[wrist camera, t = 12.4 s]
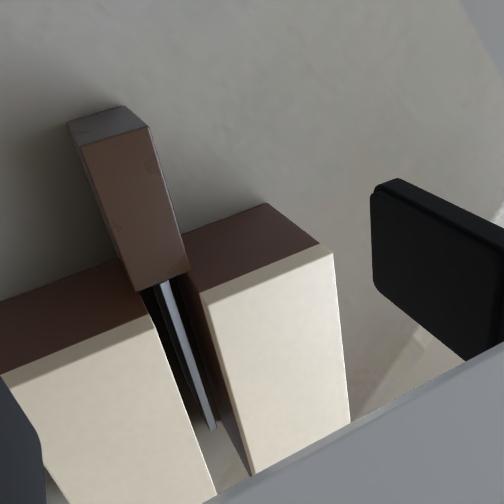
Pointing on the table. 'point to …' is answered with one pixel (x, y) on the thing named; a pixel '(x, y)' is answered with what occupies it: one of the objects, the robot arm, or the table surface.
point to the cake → (159, 372)
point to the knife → (139, 218)
